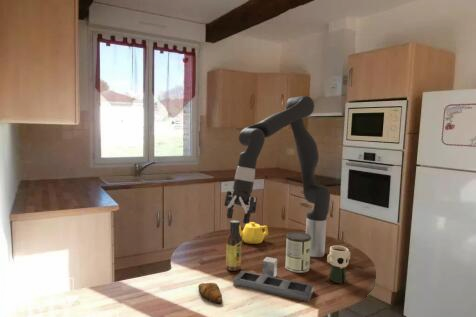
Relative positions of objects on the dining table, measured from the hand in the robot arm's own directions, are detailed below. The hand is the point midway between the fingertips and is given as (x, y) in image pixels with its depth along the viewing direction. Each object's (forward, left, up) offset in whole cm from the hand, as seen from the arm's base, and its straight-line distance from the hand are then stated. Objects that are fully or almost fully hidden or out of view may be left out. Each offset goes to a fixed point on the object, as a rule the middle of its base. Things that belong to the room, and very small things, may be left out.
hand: (237, 220), depth 129 cm
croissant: (+17, -2, -23) cm, 29 cm away
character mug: (-15, +37, -23) cm, 46 cm away
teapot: (-44, -9, -23) cm, 50 cm away
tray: (+2, +16, -23) cm, 28 cm away
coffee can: (-21, +20, -23) cm, 37 cm away
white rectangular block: (-7, +12, -23) cm, 26 cm away
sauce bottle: (-8, -4, -23) cm, 24 cm away
